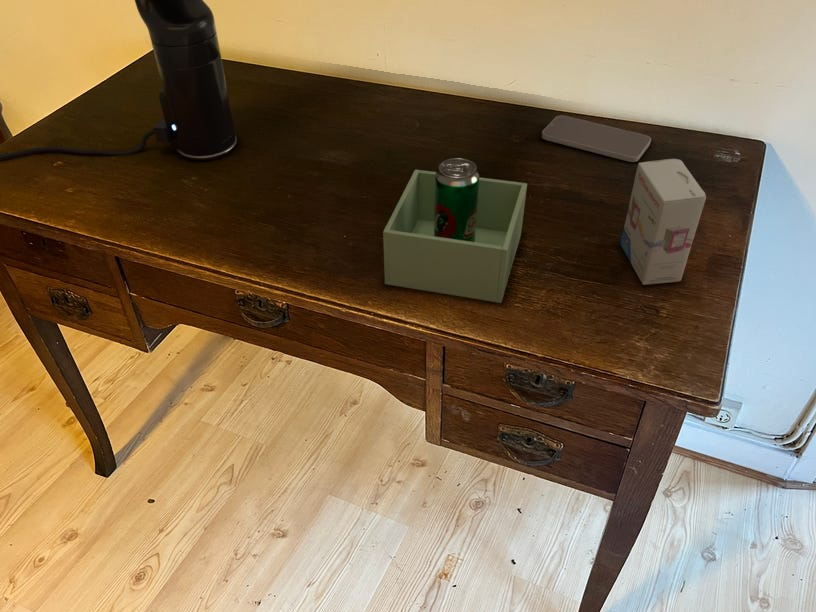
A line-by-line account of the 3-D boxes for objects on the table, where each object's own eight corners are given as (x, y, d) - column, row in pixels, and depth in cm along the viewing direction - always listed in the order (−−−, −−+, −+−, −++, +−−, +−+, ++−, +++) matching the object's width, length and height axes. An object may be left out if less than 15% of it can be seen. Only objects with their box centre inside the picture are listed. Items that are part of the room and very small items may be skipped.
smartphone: (636, 159, 105) (539, 133, 111) (635, 164, 106) (538, 139, 112) (653, 137, 110) (558, 114, 116) (651, 142, 110) (557, 119, 116)
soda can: (472, 267, 89) (478, 180, 81) (430, 263, 90) (432, 177, 82) (475, 243, 93) (481, 157, 85) (435, 240, 94) (438, 155, 85)
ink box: (616, 244, 93) (637, 159, 84) (655, 240, 93) (679, 155, 84) (640, 286, 86) (665, 199, 78) (682, 282, 87) (711, 195, 78)
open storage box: (384, 284, 89) (382, 231, 83) (414, 220, 98) (414, 169, 93) (501, 303, 85) (507, 249, 80) (520, 234, 95) (527, 183, 90)
